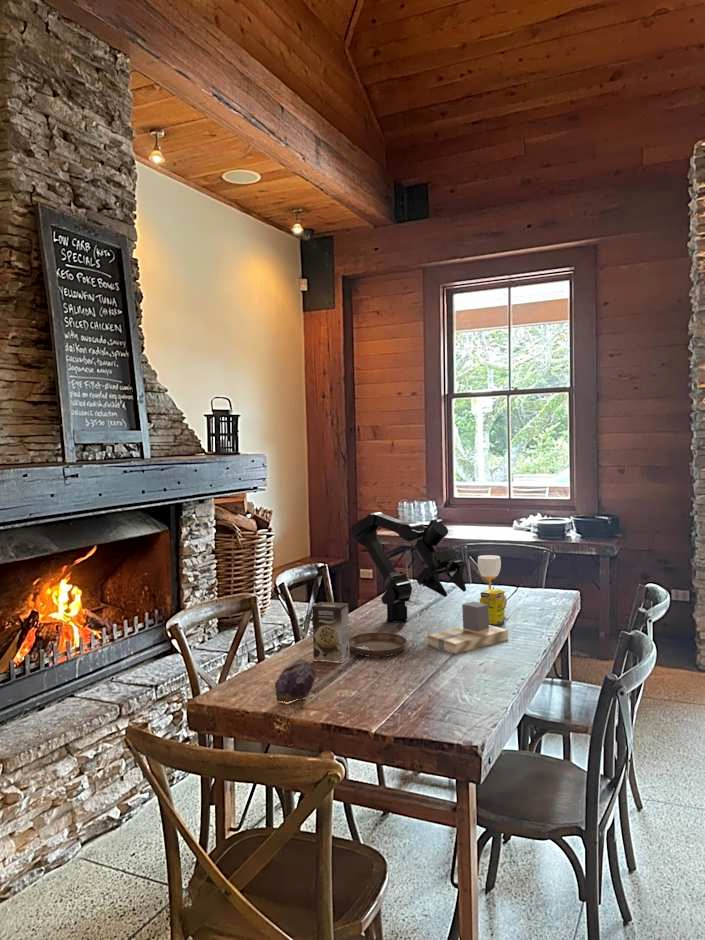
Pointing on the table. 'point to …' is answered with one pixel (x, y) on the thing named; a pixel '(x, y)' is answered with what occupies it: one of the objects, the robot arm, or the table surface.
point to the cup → (489, 567)
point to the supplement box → (494, 606)
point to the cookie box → (330, 631)
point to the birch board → (466, 639)
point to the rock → (295, 681)
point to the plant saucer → (377, 643)
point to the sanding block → (475, 617)
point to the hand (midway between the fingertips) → (455, 593)
